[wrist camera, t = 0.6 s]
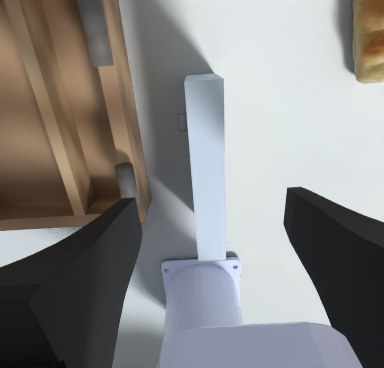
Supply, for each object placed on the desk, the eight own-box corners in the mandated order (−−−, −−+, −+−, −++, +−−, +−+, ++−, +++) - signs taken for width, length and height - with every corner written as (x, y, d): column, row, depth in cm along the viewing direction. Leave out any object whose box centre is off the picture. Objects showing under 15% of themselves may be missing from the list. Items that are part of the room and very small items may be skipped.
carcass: (152, 199, 23) (142, 232, 18) (-1, 209, 23) (-45, 242, 19) (115, -26, 15) (86, -58, 11) (-105, -6, 16) (-211, -29, 12)
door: (218, 213, 23) (226, 259, 18) (190, 215, 23) (189, 261, 18) (214, 72, 18) (223, 78, 13) (178, 75, 18) (172, 82, 13)
